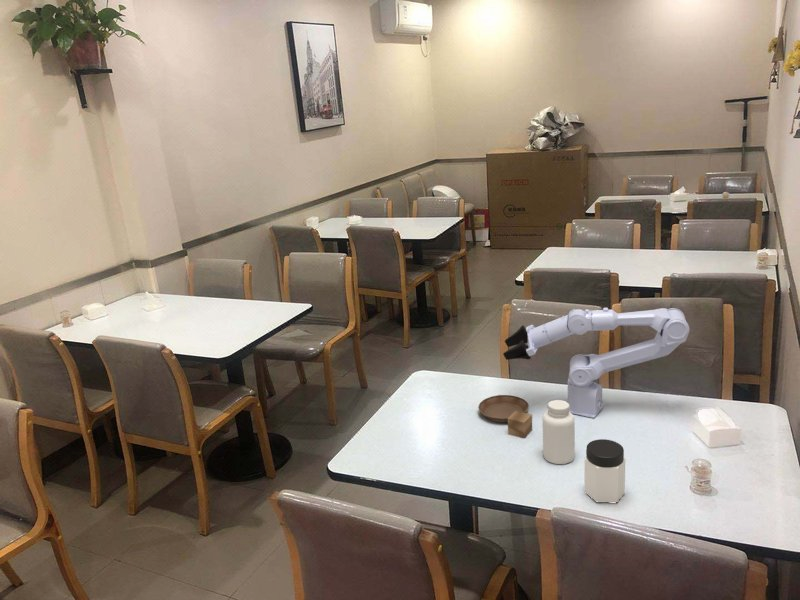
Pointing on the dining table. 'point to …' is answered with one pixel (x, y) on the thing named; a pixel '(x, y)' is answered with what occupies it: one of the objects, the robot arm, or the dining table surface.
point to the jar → (604, 471)
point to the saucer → (502, 407)
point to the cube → (520, 424)
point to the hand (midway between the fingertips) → (505, 349)
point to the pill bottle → (558, 433)
